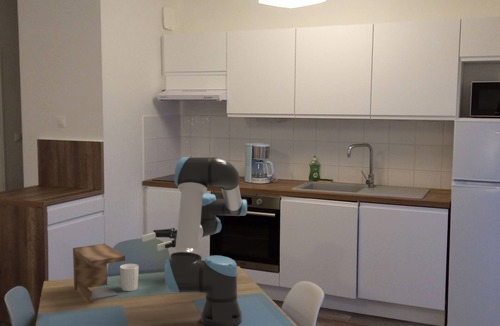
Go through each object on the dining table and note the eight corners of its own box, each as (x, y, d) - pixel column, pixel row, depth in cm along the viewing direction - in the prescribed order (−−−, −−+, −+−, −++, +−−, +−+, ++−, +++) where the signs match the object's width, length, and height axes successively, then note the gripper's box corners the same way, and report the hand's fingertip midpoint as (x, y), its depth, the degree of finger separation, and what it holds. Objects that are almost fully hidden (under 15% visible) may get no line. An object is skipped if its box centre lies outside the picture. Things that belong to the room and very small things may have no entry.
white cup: (116, 290, 237) (116, 268, 236) (126, 285, 244) (125, 263, 243) (133, 292, 234) (132, 269, 233) (142, 286, 242) (141, 264, 241)
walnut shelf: (105, 283, 247) (104, 243, 245) (126, 298, 227) (125, 255, 225) (73, 289, 239) (72, 248, 237) (91, 305, 219) (90, 261, 217)
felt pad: (108, 288, 240) (108, 287, 240) (117, 295, 231) (117, 294, 231) (83, 293, 233) (83, 291, 233) (91, 300, 224) (91, 299, 224)
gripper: (206, 247, 246) (164, 260, 233) (176, 232, 264) (136, 242, 251) (206, 231, 244) (164, 243, 231) (176, 217, 263) (135, 227, 250)
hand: (149, 243), depth 241 cm, fingers open, 13 cm apart
